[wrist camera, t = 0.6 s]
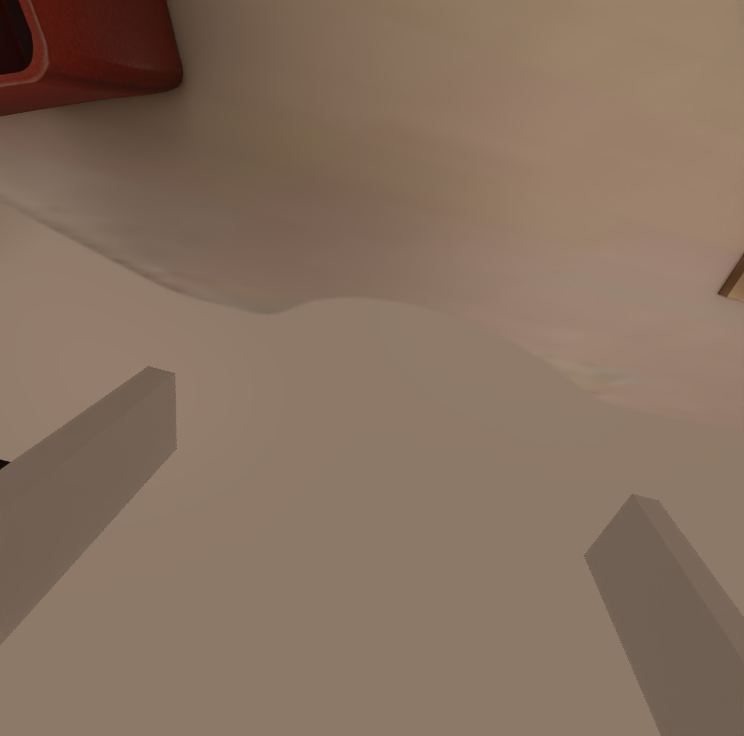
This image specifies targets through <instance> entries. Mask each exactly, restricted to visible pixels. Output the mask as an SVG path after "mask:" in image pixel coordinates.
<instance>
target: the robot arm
mask: <svg viewBox="0 0 744 736" xmlns="http://www.w3.org/2000/svg"><path fill="white" fill-rule="evenodd" d="M175 395H176V394H175V373H172V372H168V371H165V370H161V369H157V368H153V367H149V366H148V367H146V368H145V369H144V370H142V371H141V372H139V373H138V374H136V375H135V376H134V377H132V378H131V379H130V380H128V381H127V382H125V383H124V384H122V385H121V386H120V387H118V388H117V389H115V390H114V391H112V392H111V393H109V394H108V395H106V396H105V397H104V398H102V399H101V400H99V401H98V402H96V403H95V404H94V405H92V406H91V407H89V408H88V409H86V410H85V411H84V412H82V413H81V414H79V415H78V416H77V417H75V418H74V419H72V420H71V421H69V422H68V423H67V424H65V425H63V426H62V427H61V428H59V429H58V430H56V431H55V432H53V433H52V434H51V435H49V436H48V437H46V438H45V439H43V440H42V441H41V442H39V443H38V444H36V445H35V446H33V447H32V448H31V449H29V450H28V451H26V452H25V453H24V454H22V455H21V456H19V457H18V458H16V459H15V460H13V461H12V462H8V461H4V460H0V645H1V644H2V643H3V642H4V641H5V639H6V638H7V637H8V636H9V635H10V634H11V633H12V632H13V630H14V629H15V628H16V627H17V626H18V625H19V624H20V623H21V622H22V620H23V619H24V618H25V617H26V616H27V615H28V614H29V613H30V611H31V610H32V609H33V608H34V607H35V606H36V605H37V604H38V603H39V601H40V600H41V599H42V598H43V597H44V596H45V595H46V594H47V593H48V591H49V590H50V589H51V588H52V587H53V586H54V585H55V584H56V582H57V581H58V580H59V579H60V578H61V577H62V576H63V575H64V573H65V572H66V571H67V570H68V569H69V568H70V567H71V566H72V565H73V563H74V562H75V561H76V560H77V559H78V558H79V557H80V556H81V555H82V553H83V552H84V551H85V550H86V549H87V548H88V547H89V546H90V545H91V543H92V542H93V541H94V540H95V539H96V538H97V537H98V535H99V534H100V533H101V532H102V531H103V530H104V529H105V528H106V527H107V525H108V524H109V523H110V522H111V521H112V520H113V519H114V518H115V517H116V515H117V514H118V513H119V512H120V511H121V510H122V509H123V508H124V507H125V505H126V504H127V503H128V502H129V501H130V500H131V499H132V498H133V496H134V495H135V494H136V493H137V492H138V491H139V490H140V489H141V488H142V486H143V485H144V484H145V483H146V482H147V481H148V480H149V479H150V478H151V476H152V475H153V474H154V473H155V472H156V471H157V470H158V469H159V468H160V466H161V465H162V464H163V463H164V462H165V461H166V460H167V459H168V457H169V456H170V455H171V454H172V453H173V452H174V451H175V450H176V400H175V399H176V396H175ZM584 557H585V559H586V562H587V564H588V566H589V569H590V571H591V573H592V576H593V578H594V580H595V583H596V585H597V587H598V590H599V592H600V594H601V597H602V599H603V601H604V603H605V606H606V608H607V611H608V613H609V615H610V618H611V620H612V622H613V625H614V627H615V629H616V632H617V634H618V636H619V639H620V641H621V643H622V646H623V648H624V650H625V653H626V655H627V657H628V660H629V662H630V664H631V667H632V669H633V671H634V674H635V676H636V678H637V681H638V683H639V685H640V688H641V690H642V692H643V695H644V697H645V699H646V702H647V704H648V706H649V709H650V711H651V713H652V716H653V718H654V720H655V723H656V725H657V727H658V730H659V732H660V734H661V736H744V616H743V615H742V614H741V612H740V611H739V610H738V608H737V607H736V605H735V604H734V603H733V601H732V600H731V599H730V597H729V596H728V595H727V593H726V592H725V590H724V589H723V588H722V586H721V585H720V584H719V582H718V581H717V580H716V578H715V577H714V575H713V574H712V573H711V571H710V570H709V569H708V567H707V566H706V564H705V563H704V562H703V560H702V559H701V558H700V556H699V555H698V554H697V552H696V551H695V549H694V548H693V547H692V545H691V544H690V543H689V541H688V540H687V538H686V537H685V536H684V534H683V533H682V532H681V530H680V529H679V528H678V526H677V525H676V523H675V522H674V521H673V520H672V518H671V517H670V515H669V514H668V513H667V511H666V510H665V508H664V507H663V506H662V504H661V503H660V502H659V501H658V500H654V499H651V498H647V497H643V496H639V495H635V494H632V495H631V496H630V497H629V499H628V500H627V501H626V502H625V504H624V505H623V506H622V507H621V509H620V510H619V511H618V513H617V514H616V515H615V516H614V518H613V519H612V520H611V521H610V523H609V524H608V525H607V527H606V528H605V529H604V530H603V532H602V533H601V534H600V536H599V537H598V538H597V539H596V541H595V542H594V543H593V545H592V546H591V547H590V548H589V550H588V551H587V552H586V553H585V555H584Z"/></svg>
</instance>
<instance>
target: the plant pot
mask: <svg viewBox="0 0 744 736" xmlns="http://www.w3.org/2000/svg"><path fill="white" fill-rule="evenodd" d="M182 74H183V72H182V66H181V62H180V58H179V54H178V50H177V46H176V42H175V38H174V33H173V29H172V25H171V21H170V16H169V12H168V8H167V4H166V0H0V116H5V115H10V114H16V113H22V112H28V111H34V110H40V109H46V108H52V107H58V106H64V105H70V104H76V103H82V102H89V101H96V100H102V99H110V98H120V97H130V96H139V95H148V94H156V93H162V92H166V91H169V90H172V89H174V88H176V87H178V86H179V84H180V83H181V81H182Z"/></svg>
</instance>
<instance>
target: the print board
mask: <svg viewBox="0 0 744 736" xmlns="http://www.w3.org/2000/svg"><path fill="white" fill-rule="evenodd" d="M719 294H720V295H722V296H725V297H728V298H732V299H736V300H740V301H744V256H743V257H742V259H741V260H740V262H739V263H738V265H737V266H736V268H735V269H734V271H733V272H732V274H731V276H730V277H729V279H728V280H727V282H726V283H725V285H724V286H723V288H722V289H721V291H720V292H719Z"/></svg>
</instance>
